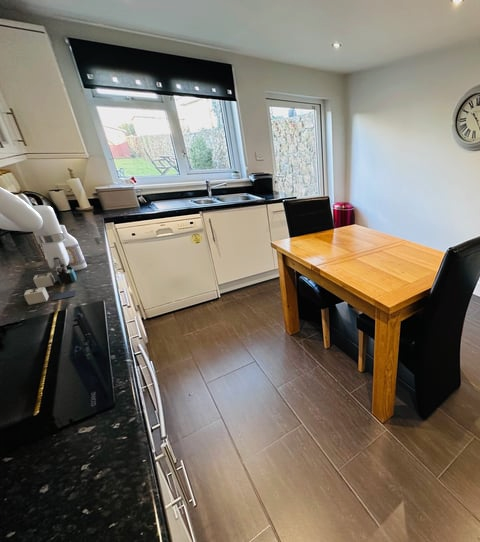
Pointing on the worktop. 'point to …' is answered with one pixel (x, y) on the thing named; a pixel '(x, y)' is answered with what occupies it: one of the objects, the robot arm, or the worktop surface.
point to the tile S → (70, 275)
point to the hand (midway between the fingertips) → (68, 279)
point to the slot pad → (63, 295)
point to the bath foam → (73, 251)
